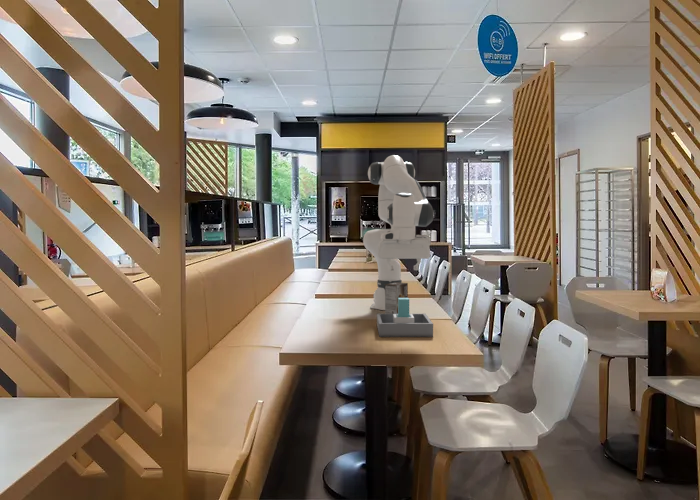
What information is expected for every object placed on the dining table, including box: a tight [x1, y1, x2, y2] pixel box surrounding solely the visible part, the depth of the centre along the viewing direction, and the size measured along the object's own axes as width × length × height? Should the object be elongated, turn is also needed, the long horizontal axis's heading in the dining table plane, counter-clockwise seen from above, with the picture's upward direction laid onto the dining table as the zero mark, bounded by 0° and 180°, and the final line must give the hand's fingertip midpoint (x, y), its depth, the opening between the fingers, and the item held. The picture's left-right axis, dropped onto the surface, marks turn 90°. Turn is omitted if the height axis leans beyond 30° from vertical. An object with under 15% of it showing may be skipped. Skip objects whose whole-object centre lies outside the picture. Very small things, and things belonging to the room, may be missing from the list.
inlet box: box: [376, 313, 434, 338], centre depth 192 cm, size 20×20×6 cm
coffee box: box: [384, 282, 409, 314], centre depth 213 cm, size 9×6×16 cm
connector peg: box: [398, 297, 410, 317], centre depth 192 cm, size 4×4×12 cm
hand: (403, 270), depth 191 cm, fingers open, 8 cm apart
